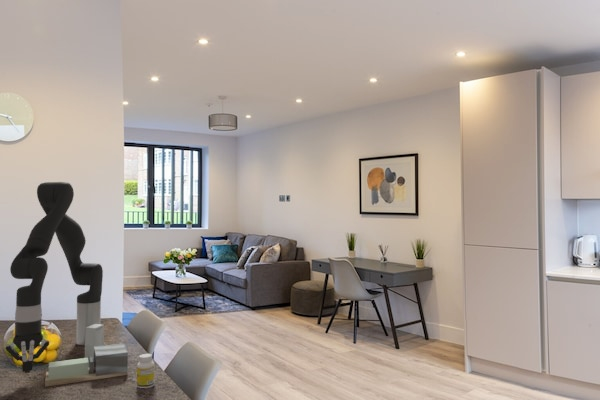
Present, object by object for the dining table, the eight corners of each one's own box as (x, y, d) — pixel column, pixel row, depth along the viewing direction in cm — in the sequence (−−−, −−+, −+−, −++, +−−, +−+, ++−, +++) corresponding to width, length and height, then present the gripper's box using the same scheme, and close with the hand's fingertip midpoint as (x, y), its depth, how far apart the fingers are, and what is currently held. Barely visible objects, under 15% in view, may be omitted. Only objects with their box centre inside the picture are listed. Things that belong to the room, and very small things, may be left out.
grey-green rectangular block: (48, 374, 161) (48, 362, 161) (92, 368, 167) (92, 356, 167) (48, 379, 156) (48, 367, 156) (93, 373, 162) (93, 361, 162)
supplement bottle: (139, 382, 156) (139, 352, 156) (156, 382, 157) (156, 352, 157) (134, 389, 151) (135, 358, 151) (152, 388, 151) (152, 357, 151)
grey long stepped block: (45, 374, 163) (46, 352, 163) (123, 364, 174) (123, 343, 174) (44, 386, 152) (45, 362, 152) (127, 374, 164) (127, 352, 164)
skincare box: (94, 360, 179) (94, 328, 179) (84, 359, 179) (84, 327, 180) (104, 355, 184) (104, 324, 185) (94, 354, 185) (94, 323, 185)
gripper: (3, 323, 149) (2, 379, 149) (51, 319, 155) (50, 372, 155) (5, 318, 156) (4, 371, 156) (51, 314, 162) (50, 365, 162)
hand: (27, 372), depth 155 cm, fingers closed
